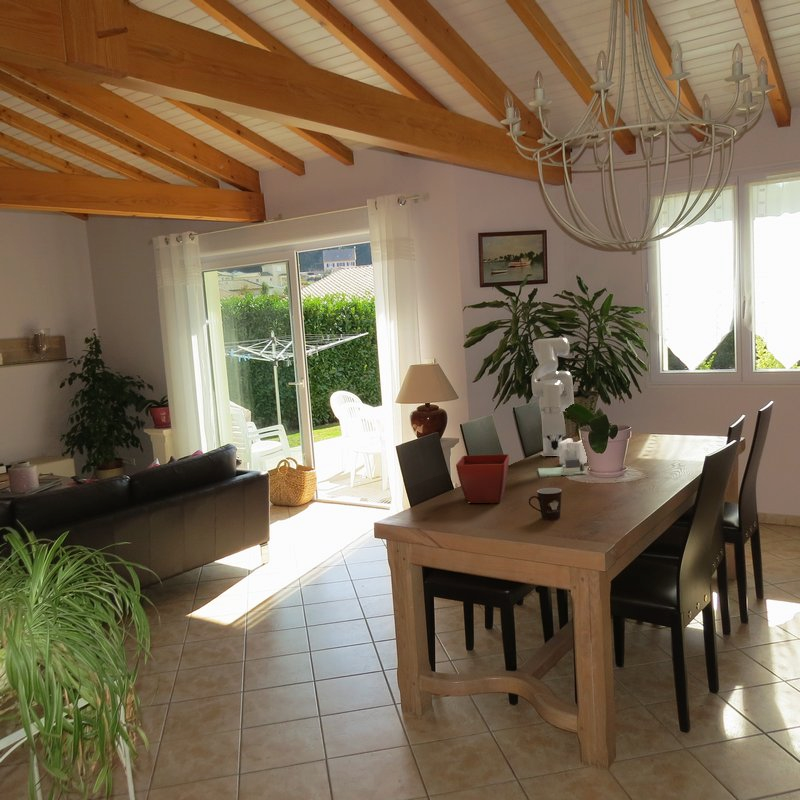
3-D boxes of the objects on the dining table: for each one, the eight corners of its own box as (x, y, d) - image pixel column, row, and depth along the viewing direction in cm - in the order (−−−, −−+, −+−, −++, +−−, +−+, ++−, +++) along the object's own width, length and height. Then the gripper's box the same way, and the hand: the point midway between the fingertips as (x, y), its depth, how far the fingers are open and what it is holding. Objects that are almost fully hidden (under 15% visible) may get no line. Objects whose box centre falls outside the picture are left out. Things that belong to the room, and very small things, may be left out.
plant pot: (507, 506, 297) (504, 463, 296) (458, 506, 302) (455, 464, 300) (511, 494, 316) (509, 453, 314) (466, 495, 321) (463, 455, 319)
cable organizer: (580, 467, 357) (578, 443, 356) (558, 466, 363) (557, 442, 361) (590, 461, 369) (589, 437, 368) (569, 460, 375) (568, 437, 374)
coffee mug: (563, 514, 279) (561, 487, 277) (563, 520, 270) (561, 493, 269) (531, 515, 281) (529, 488, 280) (529, 521, 273) (527, 494, 272)
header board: (538, 470, 357) (537, 460, 357) (581, 468, 355) (581, 457, 354) (539, 477, 344) (539, 466, 343) (585, 474, 341) (584, 463, 341)
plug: (565, 469, 350) (565, 458, 350) (579, 468, 349) (578, 458, 349) (566, 471, 346) (565, 460, 346) (580, 470, 345) (579, 459, 345)
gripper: (536, 412, 345) (538, 452, 348) (570, 410, 343) (572, 450, 346) (535, 409, 353) (537, 448, 356) (568, 407, 351) (570, 446, 353)
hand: (554, 449), depth 351 cm, fingers closed
